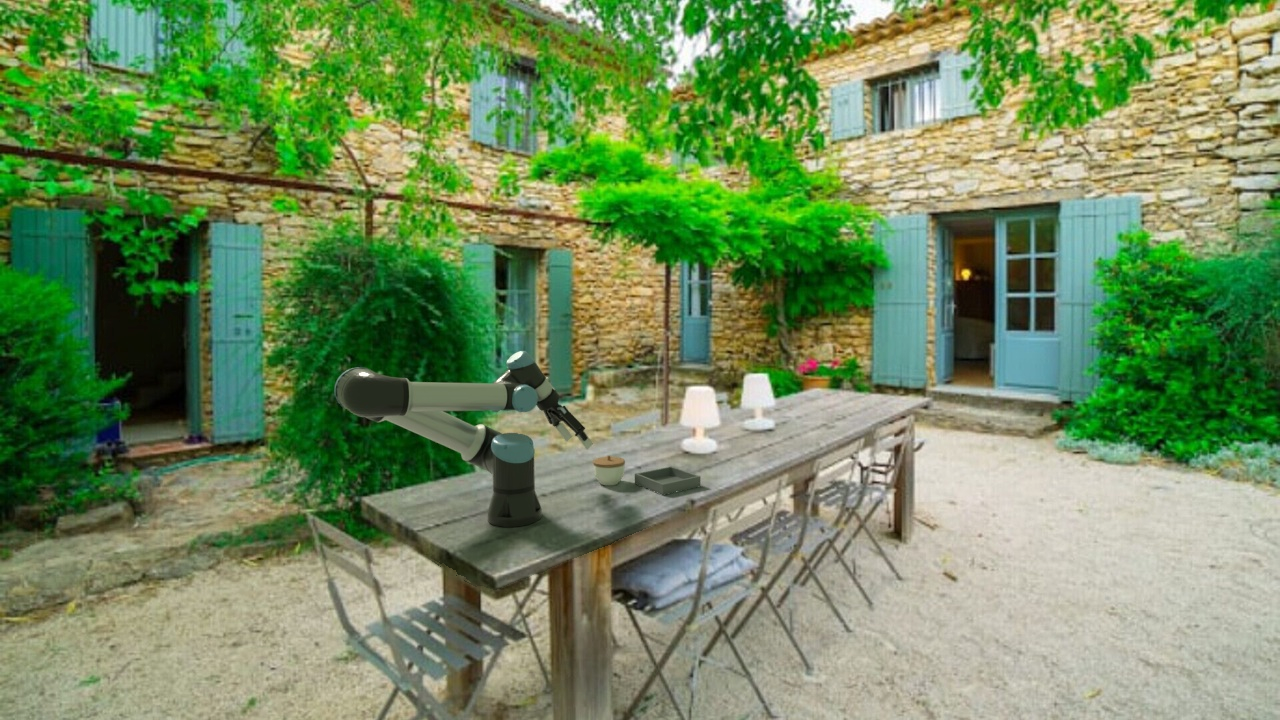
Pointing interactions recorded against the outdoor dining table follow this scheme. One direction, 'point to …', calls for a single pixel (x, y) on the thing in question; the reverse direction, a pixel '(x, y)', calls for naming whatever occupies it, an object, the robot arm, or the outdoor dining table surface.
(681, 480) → the bin
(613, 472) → the lidded jar
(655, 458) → the outdoor dining table surface
